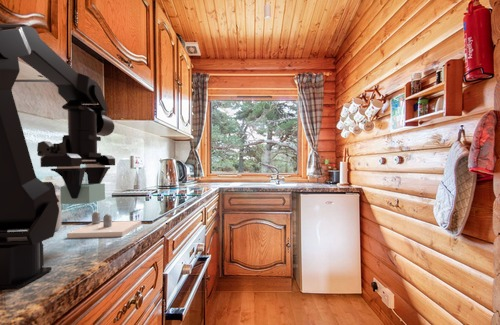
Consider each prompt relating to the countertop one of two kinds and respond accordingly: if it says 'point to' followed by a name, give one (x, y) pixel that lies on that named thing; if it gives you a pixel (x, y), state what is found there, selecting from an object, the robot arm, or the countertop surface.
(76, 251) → the countertop surface
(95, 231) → the base plate
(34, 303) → the countertop surface
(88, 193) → the block with square hole
